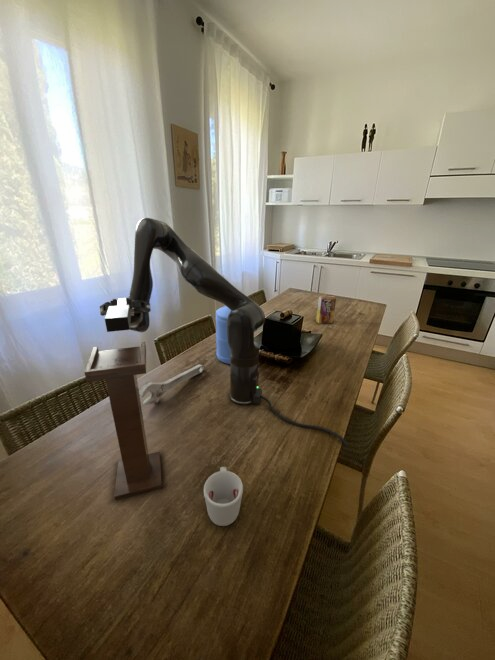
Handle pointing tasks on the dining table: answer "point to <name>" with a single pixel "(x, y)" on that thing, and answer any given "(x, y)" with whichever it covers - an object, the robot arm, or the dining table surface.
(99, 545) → the dining table surface
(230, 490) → the cup
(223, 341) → the water jug
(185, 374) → the wrench
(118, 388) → the stand
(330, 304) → the candy box
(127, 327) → the black and white bar
